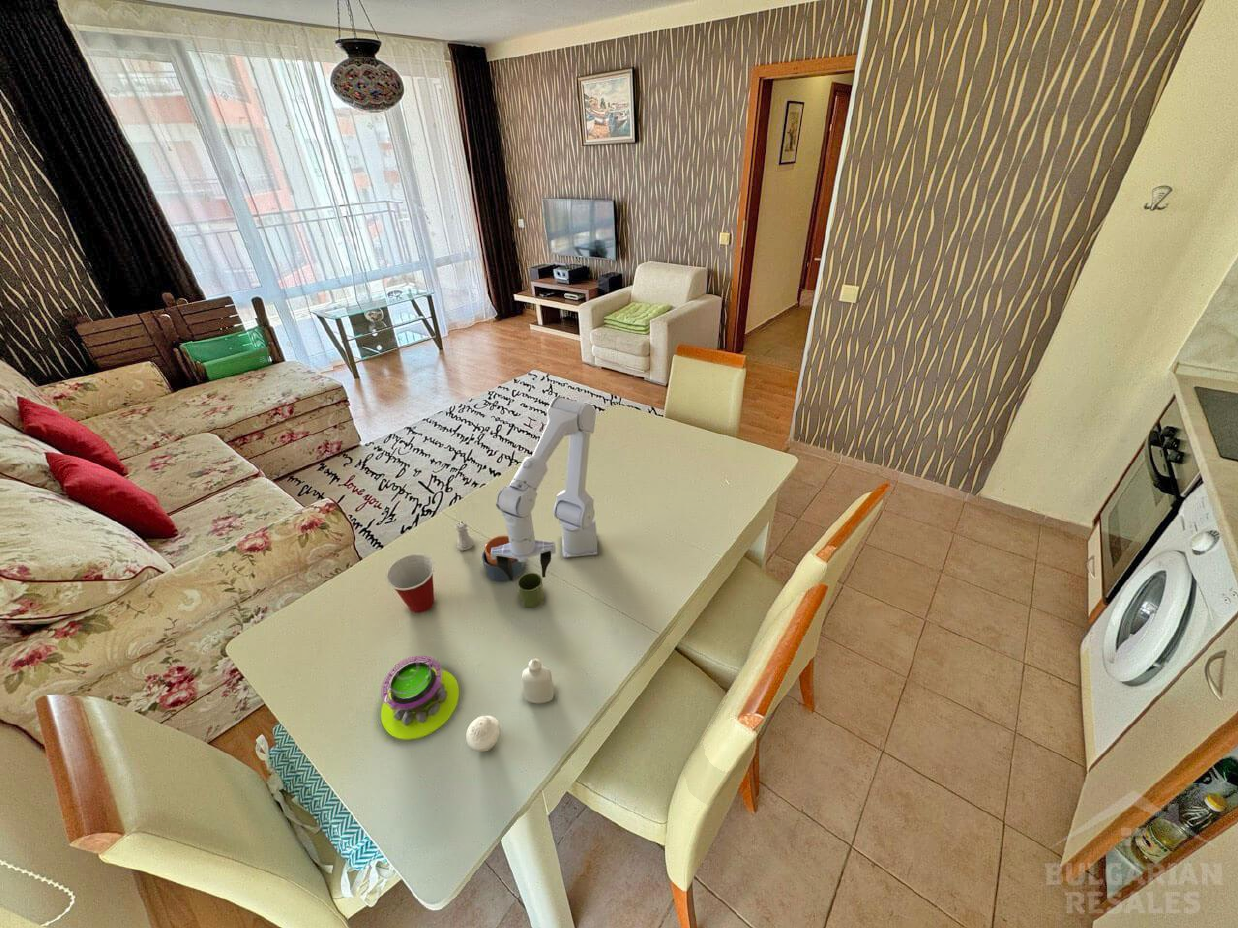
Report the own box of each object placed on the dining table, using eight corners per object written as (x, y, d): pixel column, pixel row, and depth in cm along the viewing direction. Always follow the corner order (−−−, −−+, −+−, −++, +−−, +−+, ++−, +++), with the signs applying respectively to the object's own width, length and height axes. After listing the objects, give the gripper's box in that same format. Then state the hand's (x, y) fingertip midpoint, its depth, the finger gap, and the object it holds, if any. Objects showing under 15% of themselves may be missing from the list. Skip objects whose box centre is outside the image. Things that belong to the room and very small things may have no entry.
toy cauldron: (428, 656, 107) (416, 624, 101) (474, 692, 100) (464, 659, 94) (365, 711, 97) (347, 678, 91) (412, 755, 90) (396, 723, 84)
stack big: (525, 551, 135) (523, 538, 132) (524, 579, 126) (521, 565, 123) (487, 555, 134) (484, 541, 131) (483, 583, 125) (479, 569, 122)
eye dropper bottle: (535, 681, 102) (528, 645, 95) (557, 692, 100) (552, 656, 93) (522, 698, 99) (514, 662, 92) (545, 711, 97) (538, 675, 90)
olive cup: (544, 588, 123) (541, 571, 120) (544, 606, 119) (541, 589, 115) (521, 590, 123) (518, 574, 120) (520, 609, 118) (517, 592, 115)
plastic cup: (401, 629, 114) (387, 593, 107) (396, 597, 122) (382, 562, 115) (448, 611, 118) (438, 576, 111) (440, 581, 126) (430, 547, 119)
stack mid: (521, 554, 134) (517, 534, 130) (520, 576, 127) (516, 555, 123) (490, 557, 133) (486, 537, 129) (488, 579, 126) (483, 558, 122)
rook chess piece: (469, 552, 135) (464, 530, 130) (454, 550, 136) (449, 528, 131) (476, 541, 138) (471, 519, 134) (462, 539, 139) (456, 517, 135)
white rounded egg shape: (462, 752, 90) (455, 732, 86) (481, 721, 95) (475, 701, 91) (491, 764, 88) (485, 744, 84) (509, 732, 93) (504, 712, 89)
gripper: (486, 548, 105) (495, 591, 113) (553, 541, 107) (558, 585, 114) (489, 527, 111) (498, 569, 118) (553, 521, 112) (557, 563, 120)
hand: (527, 575), depth 117 cm, fingers open, 7 cm apart
